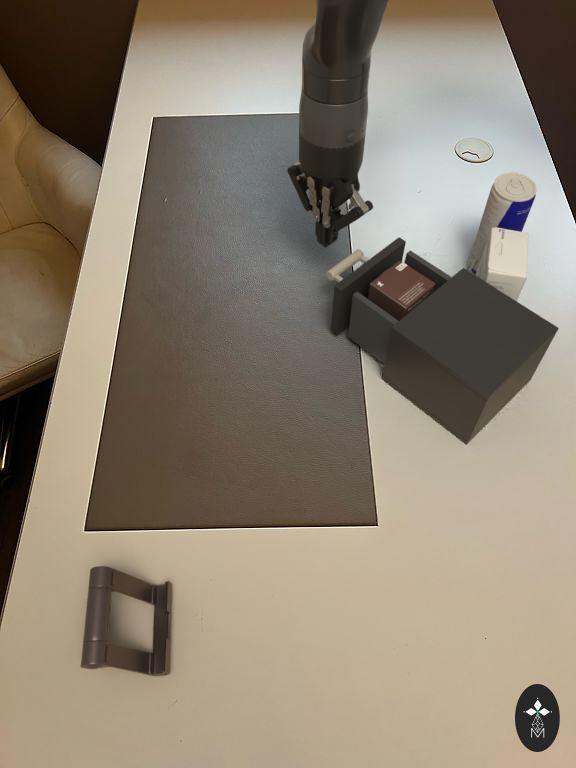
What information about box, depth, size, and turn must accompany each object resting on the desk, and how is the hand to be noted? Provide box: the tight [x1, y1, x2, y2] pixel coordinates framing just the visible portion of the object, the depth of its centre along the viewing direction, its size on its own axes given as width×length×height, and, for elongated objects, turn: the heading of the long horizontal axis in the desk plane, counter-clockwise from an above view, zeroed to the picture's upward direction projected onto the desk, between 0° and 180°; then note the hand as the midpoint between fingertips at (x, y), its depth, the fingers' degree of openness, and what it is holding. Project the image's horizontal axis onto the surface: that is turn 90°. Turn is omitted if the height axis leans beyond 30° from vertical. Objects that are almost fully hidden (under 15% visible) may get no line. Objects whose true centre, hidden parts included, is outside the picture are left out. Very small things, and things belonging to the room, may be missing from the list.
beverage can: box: [466, 172, 538, 275], centre depth 86 cm, size 6×6×15 cm
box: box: [368, 261, 435, 321], centre depth 81 cm, size 6×6×7 cm
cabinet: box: [381, 267, 559, 445], centre depth 76 cm, size 14×14×11 cm
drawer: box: [325, 236, 453, 365], centre depth 81 cm, size 17×12×9 cm
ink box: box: [476, 227, 530, 302], centre depth 82 cm, size 9×5×12 cm, turn 167°
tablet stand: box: [80, 565, 173, 677], centre depth 60 cm, size 9×8×8 cm
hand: (326, 241), depth 84 cm, fingers closed
